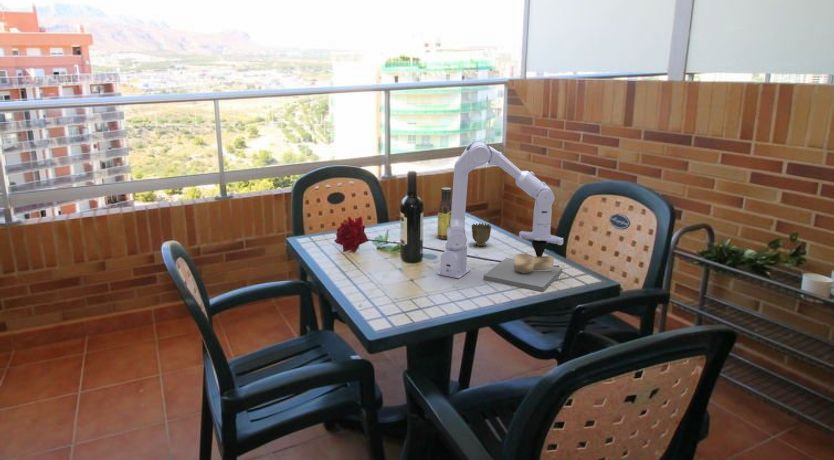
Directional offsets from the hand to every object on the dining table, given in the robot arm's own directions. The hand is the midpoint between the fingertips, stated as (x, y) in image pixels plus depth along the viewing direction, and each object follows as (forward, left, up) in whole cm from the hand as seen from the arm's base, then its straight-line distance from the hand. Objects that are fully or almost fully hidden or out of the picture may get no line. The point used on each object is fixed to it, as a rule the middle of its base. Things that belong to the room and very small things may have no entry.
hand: (539, 261), depth 204 cm
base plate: (-5, +3, -4) cm, 7 cm away
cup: (+17, +28, -4) cm, 33 cm away
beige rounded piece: (-3, +1, -2) cm, 4 cm away
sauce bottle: (+19, +44, -4) cm, 48 cm away
